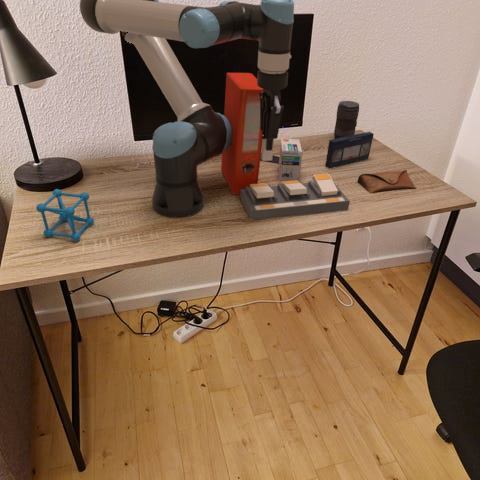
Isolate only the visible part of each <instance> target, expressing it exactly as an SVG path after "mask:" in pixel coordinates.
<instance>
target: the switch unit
mask: <svg viewBox="0 0 480 480" xmlns="http://www.w3.org/2000/svg"><path fill="white" fill-rule="evenodd" d="M299 182H300V183H301V184H302V185H303V186H305V187H306V188H307V194H297V195H290V194H289V193H287V192H286V191H285V190H284V189H283V187H282V186H281V184H282V183H277V185H271V184H267V185H268V186H269V187H270V188H271V189H272V190H273V191H274V197H267V198H256V197H255V195H254V194H253V193H252V192H251V190H250V188H249V187H246V189H240V194H239V199H240V200H241V203H242V204H243V206H244V208H245V211H246V213H247V215H248V217H249V220H250V221H256V220H257V221H258V220H267V219H274V218H275V219H276V218H284V217H294V216H302V215H303V216H304V215H311V214H312V215H313V214H319V213H320V214H321V213H322V214H323V213H330V212H331V213H332V212H338V211H339V212H341V211H347V210H349V207H350V201H351V200H349V198H348V197H347V196H346V195H345V194H344V193H343V191H342V190H341V189H340V188H339V186H338V185H337V184H336V183H335V182H334V184H335V186H336V188H337V190H338V193H337V195H329V196H321V193H320V191H319V190H318V189H317V187H316V185H315V183H314V181H312V180H308V181H307V182H305V183H302V182H301V181H299Z"/></svg>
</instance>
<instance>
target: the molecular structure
mask: <svg viewBox="0 0 480 480" xmlns="http://www.w3.org/2000/svg"><path fill="white" fill-rule="evenodd" d="M62 196H64V197H73V198H79V200H78V201H76V202H75V203H74V205H72V206H67V207H65V203H64V202H63V200H62ZM55 198H56V199H57V204H58V208H56V207H48V204H50V203H51V202H52V201H53V200H55ZM89 199H90V195H89V193H88V192H85V191H83V192H81V193H80V194H77V193H71V192H63V191H62V190H61V189H60V188H59V189H58V188H55V189H54V190H53V191H52V196H51V197H50V198H48V199H47V200H45V202H44V203H42V202H41V203H38V204H37V205H36V209H35V210H36V211H37V212H38V213H40V214H41V217H42V221H43V224H44V228H45V230H43V236H44V237H45V238H48V239H49V238H51V237H53V236H57V237H64V238H70V239H71V240H72V241H73V242H78V241H80V240H81V234H82V233H83V232H84V231H85V229H86V228H87V227H88V226H92V225H94V223H95V219H94V218H93V217H91V216H90V215H91V214H90V210H89V206H88V201H89ZM82 202H83V204H84V208H85V213H86V218H85V217H81V216H78V215H75V213H76V212H75V211H76V210H75V209H76V208H77V207H78V206H79V205H80V204H82ZM45 212H48V213H49V212H50V213H54V214H57V215H59V216H58V221H57V222H56V223H55V224H53V226H52V227H51V228H50V227H49V225H48V222H47V217H46V213H45ZM66 222H67V223H68V225H69V227H70V230H71V234H67V233H61V232H54V230H55V229H56V228H57V227H59V226H60V224H61V223H66ZM75 222H84V223H85V224H84V225H83V226H82V227H81V228H80V229H79V230H78V231H77V230H76V225H75Z"/></svg>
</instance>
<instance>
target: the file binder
mask: <svg viewBox="0 0 480 480" xmlns="http://www.w3.org/2000/svg"><path fill="white" fill-rule="evenodd" d="M224 92H225V93H224V95H225V97H224V111H223V113H224V114H223V115H224V116H225V117H226V118H227V119H228V121H229V123H230V125H231V128H232V138H231V144H230V146H229V147H228V148H227V149H226V150H225V151H224V152H222V153H221V167H220V169H221V173H222V174H223V177H224V178H225V182H226V183H227V184H228V185H227V186H228V188H229V189H230V191H231V193H232V195H240V189H246V187H249V188H250V184H259V176H260V175H259V174H260V168H261V167H260V163H261V154H262V136H264V135H262V130H260V96H259V93H260V92H263V88H260V87H259V86H258V85H257V76H255V75H254V74H253V73H251V72H226V78H225V91H224Z"/></svg>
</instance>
